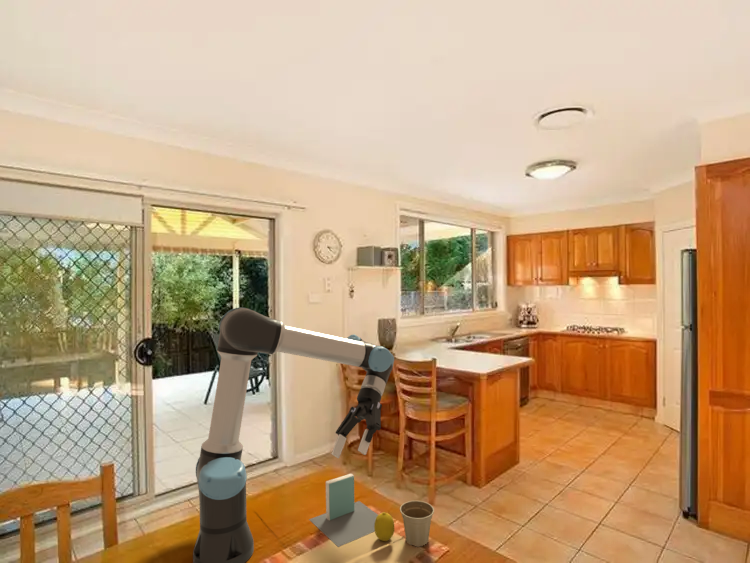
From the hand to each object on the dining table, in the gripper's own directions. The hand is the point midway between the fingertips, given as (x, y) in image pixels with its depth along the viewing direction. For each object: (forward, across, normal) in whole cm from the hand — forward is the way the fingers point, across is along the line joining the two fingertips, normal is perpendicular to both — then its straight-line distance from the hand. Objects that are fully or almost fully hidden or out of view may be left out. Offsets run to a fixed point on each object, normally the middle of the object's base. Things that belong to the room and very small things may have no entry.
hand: (347, 454), depth 129 cm
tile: (+12, +11, -12) cm, 20 cm away
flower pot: (+14, -12, -24) cm, 30 cm away
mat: (+14, +6, -13) cm, 20 cm away
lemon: (+17, -6, -17) cm, 25 cm away
